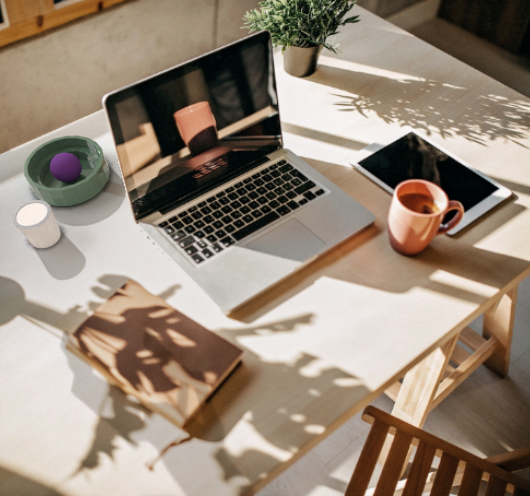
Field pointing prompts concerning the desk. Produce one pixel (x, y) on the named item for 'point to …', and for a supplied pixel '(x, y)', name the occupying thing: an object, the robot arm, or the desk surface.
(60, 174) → the ball
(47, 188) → the bowl
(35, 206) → the white cylinder
